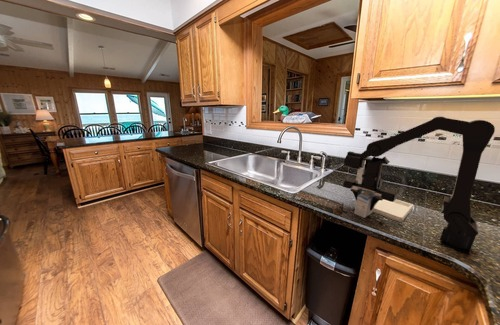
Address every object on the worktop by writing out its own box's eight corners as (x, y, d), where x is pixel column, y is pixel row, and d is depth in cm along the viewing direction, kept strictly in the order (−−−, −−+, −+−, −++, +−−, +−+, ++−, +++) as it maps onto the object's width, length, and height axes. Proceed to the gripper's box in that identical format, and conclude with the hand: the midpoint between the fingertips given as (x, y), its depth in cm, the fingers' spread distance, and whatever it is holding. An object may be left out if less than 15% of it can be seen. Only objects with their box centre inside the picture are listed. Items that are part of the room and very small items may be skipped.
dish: (412, 208, 86) (413, 204, 85) (401, 222, 75) (402, 218, 74) (377, 197, 96) (378, 193, 96) (362, 208, 85) (363, 204, 85)
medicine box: (362, 208, 85) (366, 190, 83) (373, 212, 82) (377, 194, 79) (353, 213, 81) (357, 194, 78) (365, 218, 77) (369, 198, 75)
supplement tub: (360, 191, 103) (365, 165, 99) (351, 184, 113) (355, 160, 109) (378, 191, 103) (384, 165, 99) (368, 184, 112) (372, 160, 109)
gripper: (406, 174, 74) (397, 210, 79) (356, 163, 88) (350, 195, 92) (398, 180, 68) (388, 220, 72) (344, 168, 81) (339, 201, 86)
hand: (364, 207), depth 81 cm, fingers closed on medicine box, 4 cm apart
